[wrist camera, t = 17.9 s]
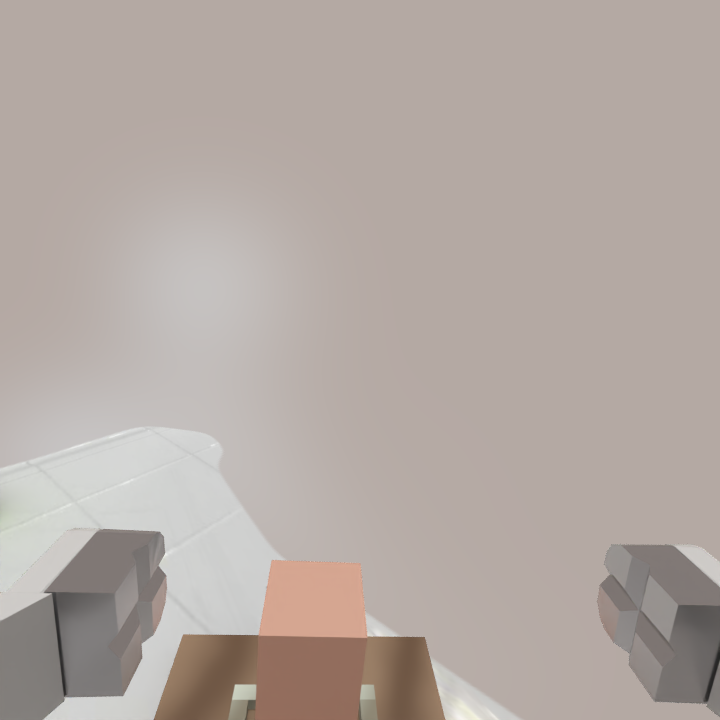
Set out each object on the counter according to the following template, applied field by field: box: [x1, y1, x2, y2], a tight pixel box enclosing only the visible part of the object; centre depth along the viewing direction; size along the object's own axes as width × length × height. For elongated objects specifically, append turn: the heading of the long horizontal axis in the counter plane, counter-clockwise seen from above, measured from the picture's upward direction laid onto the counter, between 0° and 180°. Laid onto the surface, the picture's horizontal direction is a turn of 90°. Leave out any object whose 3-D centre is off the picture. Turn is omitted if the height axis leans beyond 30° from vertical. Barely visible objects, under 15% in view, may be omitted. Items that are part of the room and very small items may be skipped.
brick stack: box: [255, 560, 367, 720], centre depth 24 cm, size 5×5×12 cm
